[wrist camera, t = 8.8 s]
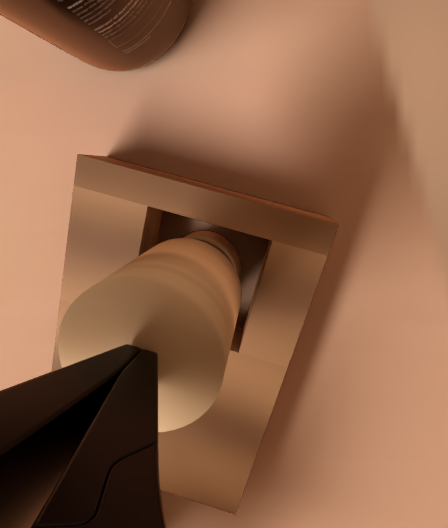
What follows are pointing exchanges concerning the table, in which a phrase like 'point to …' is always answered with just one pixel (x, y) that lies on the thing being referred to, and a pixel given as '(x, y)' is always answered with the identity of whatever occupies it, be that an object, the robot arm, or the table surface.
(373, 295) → the table surface
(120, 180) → the board
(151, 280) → the peg
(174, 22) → the supplement bottle
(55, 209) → the table surface
